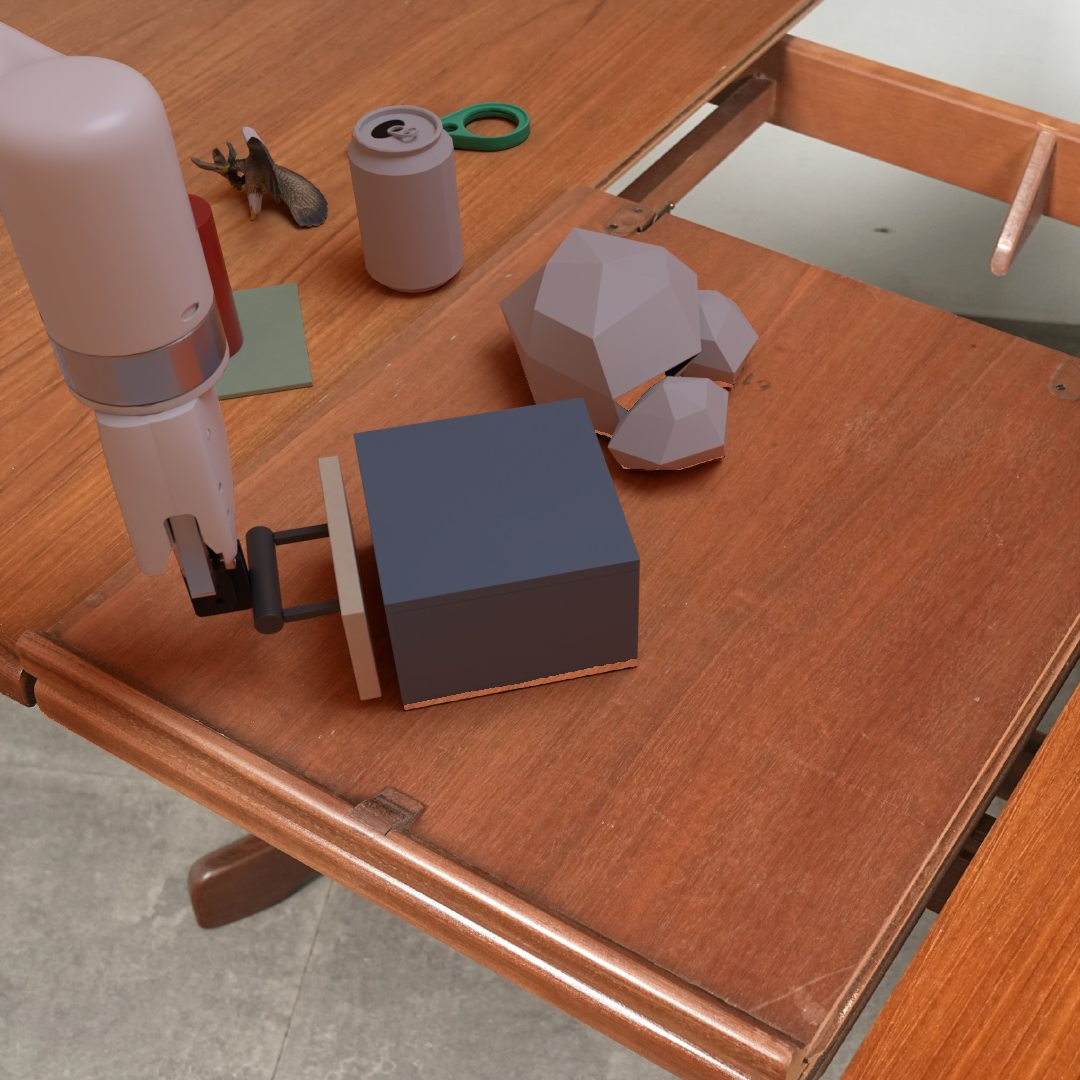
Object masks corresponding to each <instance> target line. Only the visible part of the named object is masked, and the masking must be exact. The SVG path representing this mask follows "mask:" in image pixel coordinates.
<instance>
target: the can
mask: <svg viewBox="0 0 1080 1080" xmlns="http://www.w3.org/2000/svg"><path fill="white" fill-rule="evenodd" d="M439 118H440V117H439V116H438V115H437V114H435V113H434V112H433V111H430V110H429V109H427V108H423V107H420V106H417V105H406V104H398V105H387V106H383V107H380V108H376V109H373V110H371V111H369V112H367V113H365V114H364V115H363V116H361V117H360V118H359V119H357V121H356V122H355V125H354V127H353V129H352V130H353V133H354V137H353V138H352V137H351V140H350V141H349V144H348V145H347V158H348V164H349V170H350V177H351V182H352V184H351V185H352V190H353V194H354V203H355V209H356V214H357V220H358V227H359V233H360V240H361V246H362V252H363V259H364V265H365V270H366V272H367V273H368V274H369V276H370V277H371V278H372V279H373V280H375V281H376V282H378V283H380V284H381V285H384V286H386V287H387V288H388V289H391V290H393V291H396V292H400V293H409V294H415V293H425V292H429V291H433V290H436V289H438V288H439V287H441V286H443V285H445V284H447V283H448V281H449V280H450V279H452V278H453V277H454V276H455V275H456V274H457V273H458V272H459V271H460V270H461V269H462V266H463V264H464V261H465V255H464V245H463V244H464V243H463V234H462V225H461V224H462V223H461V213H460V204H459V203H460V202H459V192H458V191H459V190H458V182H457V172H456V171H457V170H456V159H455V151H454V147H453V142H452V138H451V137H450V135H449V134H448V133H447V132H446V131H445V130H444V129H443V127H442V121H441V120H440V119H439Z"/></svg>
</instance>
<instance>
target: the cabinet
mask: <svg viewBox="0 0 1080 1080" xmlns="http://www.w3.org/2000/svg"><path fill="white" fill-rule="evenodd" d="M352 436H353V440H354V446H355V451H356V456H357V462H358V466H359V467H358V468H359V473H360V479H361V485H362V492H363V497H364V501H365V506H366V513H367V518H368V523H369V528H370V534H371V541H372V545H373V551H374V556H375V557H374V558H375V562H376V567H377V573H378V578H379V584H380V590H381V595H382V601H383V608H384V612H385V617H386V623H387V628H388V634H389V638H390V645H391V649H392V653H393V661H394V665H395V670H396V675H397V681H398V687H399V692H400V696H401V697H400V698H401V701H402V702H401V703H402V706H403V705H407V704H412V703H417V702H422V701H427V700H432V699H437V698H442V697H447V696H451V695H456V694H461V693H465V692H471V691H479V690H484V689H489V688H495V687H503V686H507V685H514V684H520V683H524V682H528V681H532V680H536V679H539V678H548V677H549V676H556V675H559V674H565V673H568V672H575V671H578V670H584V669H587V668H593V667H594V666H604V665H606V664H615V663H617V662H626V661H628V660H630V659H637V658H638V659H639V624H640V623H639V619H640V618H639V617H640V576H641V575H640V574H641V558H640V556H639V552H638V549H637V547H636V544H635V541H634V538H633V535H632V533H631V529H630V527H629V524H628V522H627V518H626V516H625V512H624V510H623V507H622V504H621V501H620V499H619V495H618V493H617V490H616V487H615V484H614V481H613V479H612V476H611V473H610V470H609V468H608V464H607V461H606V459H605V456H604V453H603V450H602V448H601V445H600V441H599V439H598V436H597V434H596V433H595V430H594V427H593V425H592V422H591V419H590V416H589V413H588V410H587V408H586V405H585V402H584V399H583V398H576V399H570V400H563V401H557V402H550V403H544V404H538V405H535V404H533V405H526V406H519V407H514V408H512V407H511V408H506V409H500V410H495V411H488V412H487V411H486V412H481V413H474V414H468V415H462V416H456V417H449V418H442V419H437V420H431V421H430V420H429V421H424V422H417V423H411V424H405V425H399V426H392V427H386V428H378V429H372V430H366V431H360V432H354V433H353V435H352Z"/></svg>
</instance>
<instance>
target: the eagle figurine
mask: <svg viewBox="0 0 1080 1080" xmlns="http://www.w3.org/2000/svg"><path fill="white" fill-rule="evenodd" d="M241 133H242V136H243V138H244V141H245V142H246V147H247V148H248V156H247V157H246V158H245V157H244V158H240V159H239V158H236V157H237V153H238V151H237V150H236V149H235V147H234V146H233V144H232V143H231V142H230V141H225V143H226V146H227V149H228V156H227V159H226V157H225V155H224V154H223V153H222V151H221V150H220V148H218V147H216V148H213V149H212V152H211V155H212V156H211V157H212V159H213V162H207V161H203V160H201V159H199V158H197V157H191V158H190V161H191V163H193V164H194V165H195V166H196V167H197V168H199V169H201V170H204V171H208V172H209V171H210V172H214V173H216V174H219V175H220V176H222V177H223V178H225V179H226V180H227V181H228V182H229V184H230V186H232V187H233V188H234V189H236V191H237V192H242V191H243V186H245V192H246V194H247V199H248V205H249V211H250V218H249V220H250V221H254V220H255V219H256V217H257V215H258V214H259V213H260V212H261V210H262V200H263V195H264V193H268V194H270V195H271V196H272V199H273V200H274V201H275V202H276V203H280V202H281V200H282V201H283V203H284V204H285V205H286V206H287V207H288V209H289V211H290V213H291V215H292V217H293V219H294V221H295V222H296V223H297V225H298V226H299V227H304V226H305V227H307V228H311V227H312V226H314V227H320V225H322V224H325V223H326V220H325V219H326V218H328V216H329V215H328V213H327V211H329V208H328V205H329V204H328V203H329V202H327V201H328V200H327V199H326V198H325V194H323V193H322V192H321V190H320V189H319V188H318V187H316V186H315V184H314V183H313V182H312V181H310V180H308V178H305V177H304V176H303V175H301V174H300V173H298V172H295V171H293V170H292V169H290V168H288V167H286V166H283V165H278V164H277V163H275V161H274V159H273V157H272V155H271V153H270V152H269V150H268V148H267V146H266V145H265V143H264V142H263V140H262V139H261V137H260V135H259V134H258V133H257V132H256V130H255V129H254V128H252V127H250V126H243V127H241ZM239 172H240V173H242V175H241V176H240V175H238V173H239Z"/></svg>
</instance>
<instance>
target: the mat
mask: <svg viewBox="0 0 1080 1080" xmlns="http://www.w3.org/2000/svg"><path fill="white" fill-rule="evenodd" d="M232 293H233V297H234V301H235V305H236V309H237V313H238V317H239V321H240V325H241V329H242V333H243V344H242V346H241V348H240V350H239V351H238V352H237V353H236V354H235V355H233V356H232V357H230V358H229V362H228V365H227V368H226V369H225V371H224V373H223V375H222V376H221V378H220V379H219V380H218V381H217V382H216V383H215V388H216V391H217V395H218V399H219V401H221V400H228V399H236V398H241V397H242V398H243V397H249V396H256V395H262V394H267V393H269V394H270V393H275V392H281V391H288V390H295V389H303V388H307V387H308V388H309V387H313V386H314V383H313V377H312V371H311V365H310V358H309V352H308V345H307V338H306V333H305V326H304V320H303V314H302V313H303V312H302V307H301V301H300V294H299V288H298V283H297V282H288V283H282V284H281V283H280V284H275V285H267V286H261V287H260V286H259V287H253V288H245V289H238V290H232Z"/></svg>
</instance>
